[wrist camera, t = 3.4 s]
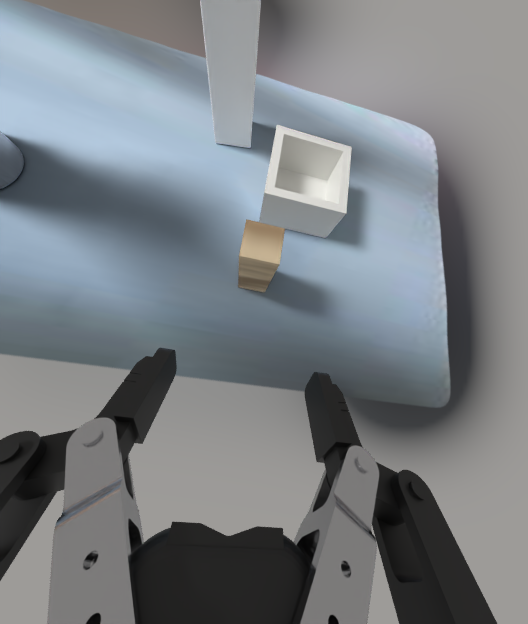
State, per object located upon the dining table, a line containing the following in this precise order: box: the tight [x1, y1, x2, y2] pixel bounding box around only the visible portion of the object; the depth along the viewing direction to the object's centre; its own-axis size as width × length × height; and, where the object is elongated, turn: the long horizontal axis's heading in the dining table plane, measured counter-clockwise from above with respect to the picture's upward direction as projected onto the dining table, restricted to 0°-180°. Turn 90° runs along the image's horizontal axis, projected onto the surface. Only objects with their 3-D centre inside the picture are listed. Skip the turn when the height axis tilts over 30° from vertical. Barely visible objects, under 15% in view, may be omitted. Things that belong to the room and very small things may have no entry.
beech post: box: [238, 219, 285, 293], centre depth 23 cm, size 4×4×10 cm
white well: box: [259, 125, 352, 238], centre depth 29 cm, size 11×11×6 cm
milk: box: [200, 0, 261, 148], centre depth 22 cm, size 6×6×22 cm
